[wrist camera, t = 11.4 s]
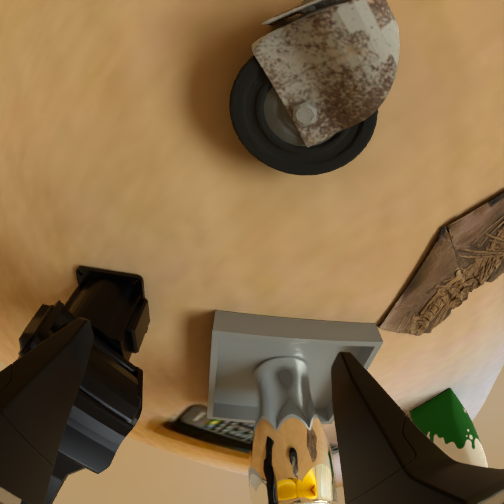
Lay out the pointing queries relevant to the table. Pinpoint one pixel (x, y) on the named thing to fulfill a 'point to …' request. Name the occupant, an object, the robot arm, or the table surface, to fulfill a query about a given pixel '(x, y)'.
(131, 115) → the table surface
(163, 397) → the table surface
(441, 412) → the milk carton
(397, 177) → the table surface
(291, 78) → the caster wheel
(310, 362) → the tray
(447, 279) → the wooden fragment
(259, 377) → the metal tumbler
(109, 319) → the robot arm
